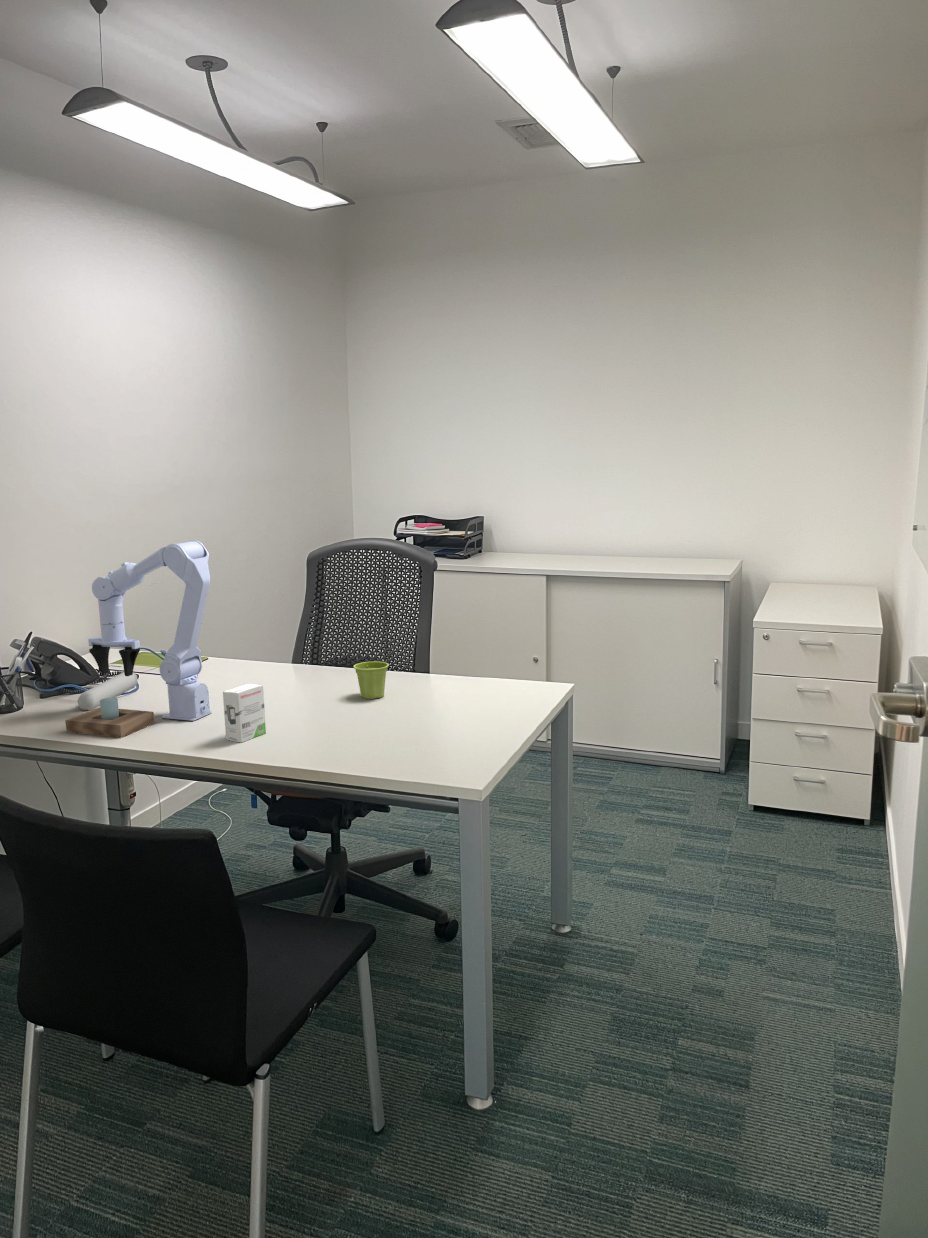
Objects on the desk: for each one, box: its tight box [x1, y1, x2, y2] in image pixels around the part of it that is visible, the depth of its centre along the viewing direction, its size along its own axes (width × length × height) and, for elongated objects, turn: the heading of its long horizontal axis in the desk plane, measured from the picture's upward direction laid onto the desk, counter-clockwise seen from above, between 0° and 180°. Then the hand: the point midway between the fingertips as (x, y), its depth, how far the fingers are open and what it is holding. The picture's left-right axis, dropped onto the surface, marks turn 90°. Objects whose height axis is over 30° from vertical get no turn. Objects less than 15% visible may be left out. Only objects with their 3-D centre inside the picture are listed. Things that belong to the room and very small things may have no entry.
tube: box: [76, 670, 138, 711], centre depth 250 cm, size 5×5×25 cm
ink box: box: [222, 683, 267, 744], centre depth 213 cm, size 9×5×12 cm, turn 149°
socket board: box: [65, 706, 155, 738], centre depth 223 cm, size 16×12×3 cm
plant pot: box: [353, 661, 389, 700], centre depth 247 cm, size 9×9×9 cm
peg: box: [99, 697, 120, 720], centre depth 223 cm, size 4×4×7 cm
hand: (116, 674), depth 238 cm, fingers open, 7 cm apart
